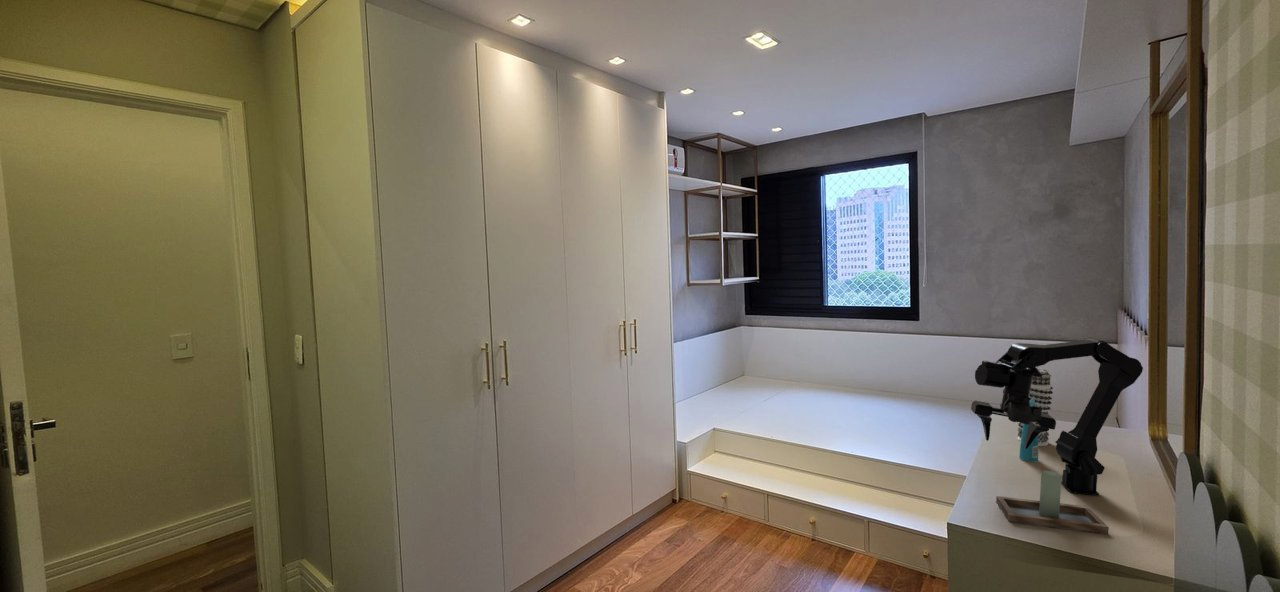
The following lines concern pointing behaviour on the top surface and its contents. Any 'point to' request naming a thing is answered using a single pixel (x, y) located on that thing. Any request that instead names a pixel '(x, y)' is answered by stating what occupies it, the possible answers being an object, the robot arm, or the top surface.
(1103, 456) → the top surface
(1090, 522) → the brown wooden flat tray
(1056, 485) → the post
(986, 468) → the top surface
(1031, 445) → the tube
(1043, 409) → the decorative candle
